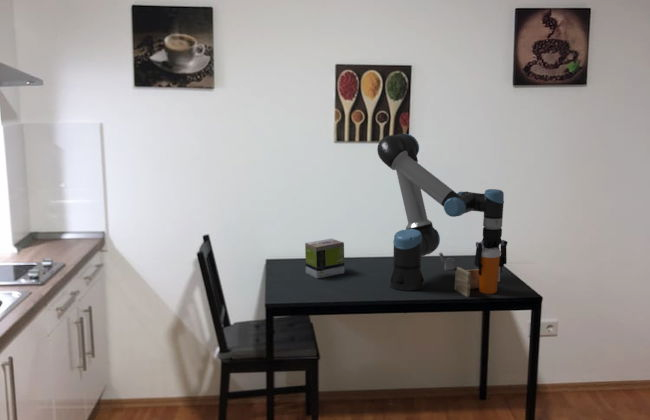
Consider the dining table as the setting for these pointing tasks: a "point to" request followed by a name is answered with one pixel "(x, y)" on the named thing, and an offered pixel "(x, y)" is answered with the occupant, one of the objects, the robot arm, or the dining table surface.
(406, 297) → the dining table surface
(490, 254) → the shaker bottle
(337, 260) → the tea box
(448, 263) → the lighter
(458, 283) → the bookend
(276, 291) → the dining table surface
